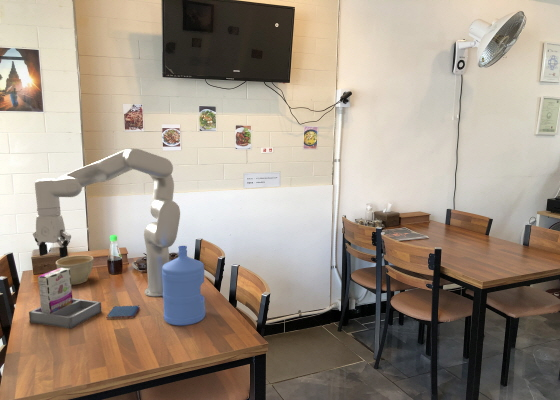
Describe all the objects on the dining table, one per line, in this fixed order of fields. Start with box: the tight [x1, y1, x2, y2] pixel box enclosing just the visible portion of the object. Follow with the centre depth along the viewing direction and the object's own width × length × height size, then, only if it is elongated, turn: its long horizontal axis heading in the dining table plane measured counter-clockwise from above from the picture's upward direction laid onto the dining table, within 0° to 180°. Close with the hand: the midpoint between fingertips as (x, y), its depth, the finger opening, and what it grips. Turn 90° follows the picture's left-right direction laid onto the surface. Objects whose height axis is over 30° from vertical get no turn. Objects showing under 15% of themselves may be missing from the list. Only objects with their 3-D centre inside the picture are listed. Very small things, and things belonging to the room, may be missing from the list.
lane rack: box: [28, 297, 102, 330], centre depth 164 cm, size 19×16×4 cm
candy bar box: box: [37, 268, 73, 314], centre depth 164 cm, size 11×5×16 cm, turn 162°
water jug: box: [162, 245, 206, 326], centre depth 161 cm, size 16×16×28 cm
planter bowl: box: [55, 254, 94, 286], centre depth 204 cm, size 16×16×11 cm
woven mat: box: [105, 304, 140, 321], centre depth 167 cm, size 10×11×2 cm
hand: (53, 255), depth 162 cm, fingers open, 9 cm apart
